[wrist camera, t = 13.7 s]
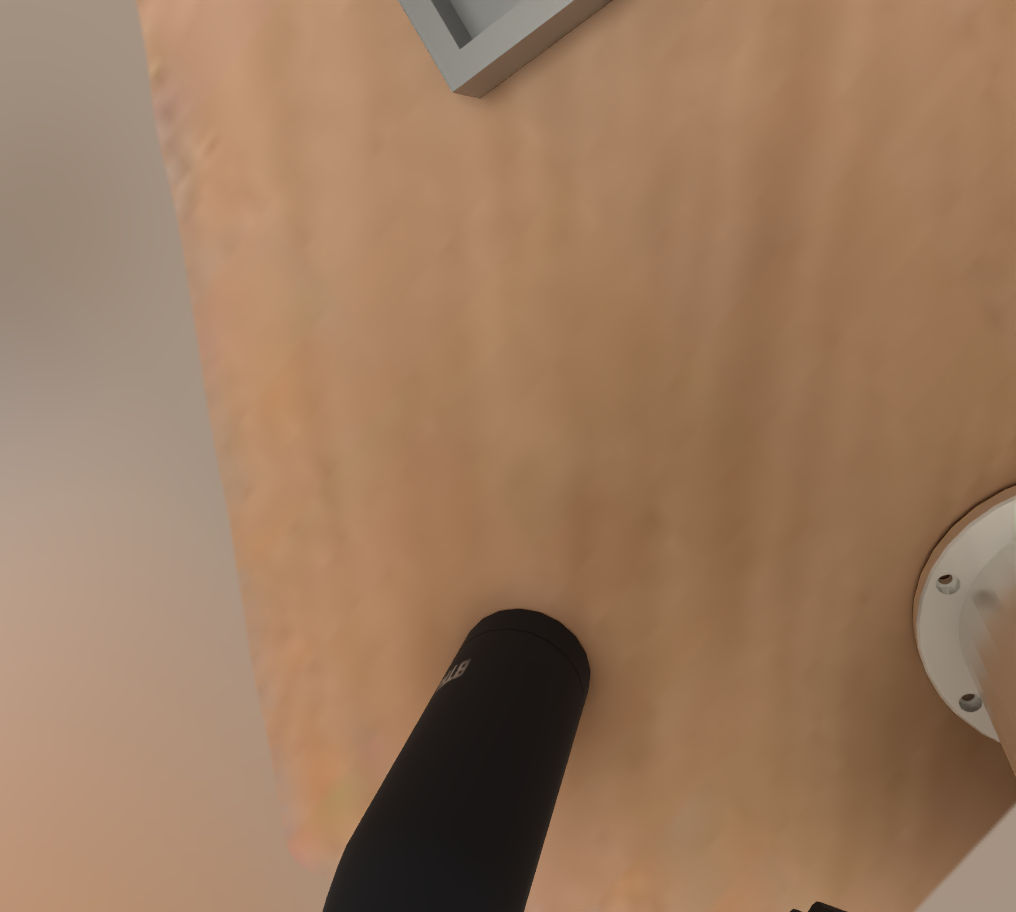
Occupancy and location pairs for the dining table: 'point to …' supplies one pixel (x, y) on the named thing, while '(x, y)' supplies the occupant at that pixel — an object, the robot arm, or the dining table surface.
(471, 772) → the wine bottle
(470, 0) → the box
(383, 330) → the dining table surface
